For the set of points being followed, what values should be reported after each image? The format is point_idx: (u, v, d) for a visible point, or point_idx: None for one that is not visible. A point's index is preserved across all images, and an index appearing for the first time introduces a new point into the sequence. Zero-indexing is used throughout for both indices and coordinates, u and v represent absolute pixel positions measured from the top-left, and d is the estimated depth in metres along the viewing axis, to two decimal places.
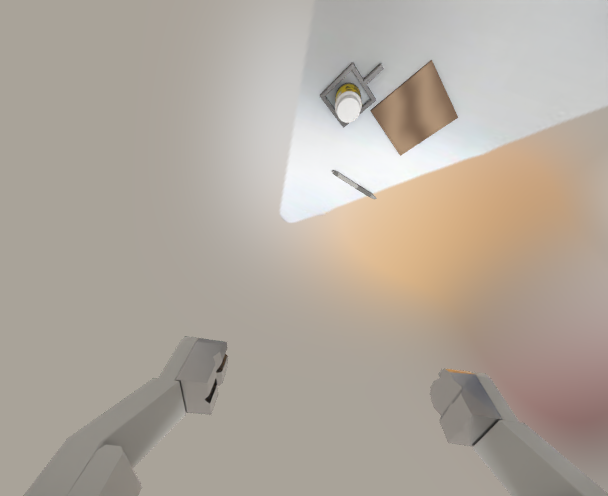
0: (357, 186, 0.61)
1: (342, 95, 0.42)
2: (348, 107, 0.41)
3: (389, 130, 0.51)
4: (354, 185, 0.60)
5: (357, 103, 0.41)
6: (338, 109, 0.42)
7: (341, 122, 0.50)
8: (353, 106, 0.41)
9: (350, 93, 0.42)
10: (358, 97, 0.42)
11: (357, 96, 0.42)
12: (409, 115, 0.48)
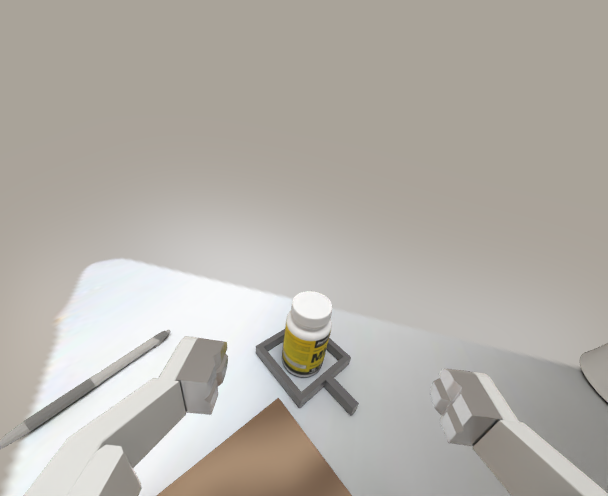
0: (94, 381, 0.22)
1: None
2: (317, 303, 0.24)
3: (228, 452, 0.19)
4: (103, 373, 0.23)
5: (325, 314, 0.23)
6: (313, 292, 0.25)
7: (265, 342, 0.28)
8: (319, 309, 0.23)
9: (330, 321, 0.25)
10: (325, 332, 0.24)
11: (326, 330, 0.24)
12: None
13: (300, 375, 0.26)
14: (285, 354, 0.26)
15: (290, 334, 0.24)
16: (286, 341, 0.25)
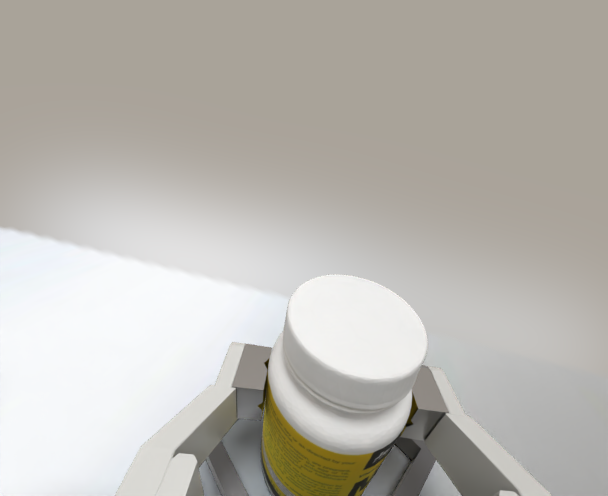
0: None
1: None
2: (372, 313, 0.07)
3: None
4: None
5: (412, 358, 0.06)
6: (351, 278, 0.09)
7: None
8: (386, 336, 0.06)
9: None
10: (403, 414, 0.07)
11: (406, 406, 0.07)
12: None
13: None
14: (267, 461, 0.09)
15: (279, 417, 0.07)
16: (268, 429, 0.08)
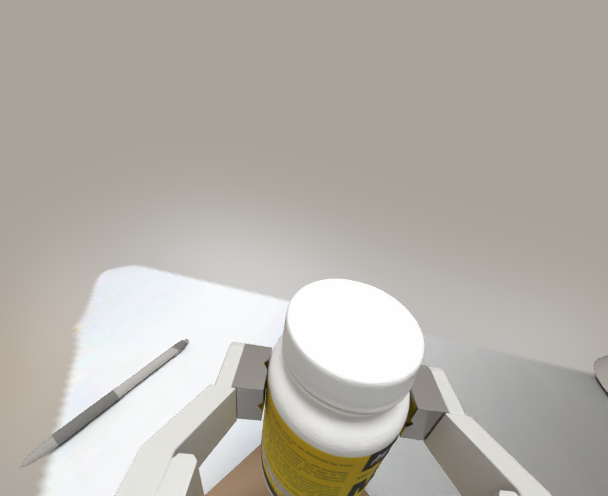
0: (117, 393, 0.23)
1: None
2: (370, 317, 0.07)
3: (254, 465, 0.19)
4: (126, 384, 0.23)
5: (409, 363, 0.06)
6: (350, 282, 0.09)
7: None
8: (384, 341, 0.06)
9: None
10: (400, 417, 0.07)
11: (403, 409, 0.07)
12: None
13: None
14: (267, 463, 0.09)
15: (278, 420, 0.07)
16: (268, 431, 0.08)
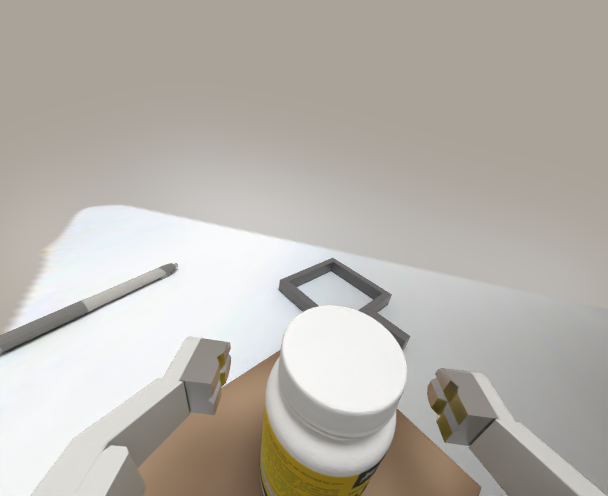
0: (86, 304, 0.18)
1: None
2: (359, 345, 0.08)
3: (256, 380, 0.15)
4: (98, 296, 0.19)
5: (392, 391, 0.07)
6: (341, 309, 0.09)
7: (290, 277, 0.24)
8: (370, 369, 0.07)
9: None
10: (386, 437, 0.07)
11: (389, 430, 0.08)
12: None
13: None
14: (265, 478, 0.09)
15: (275, 442, 0.08)
16: (266, 450, 0.09)
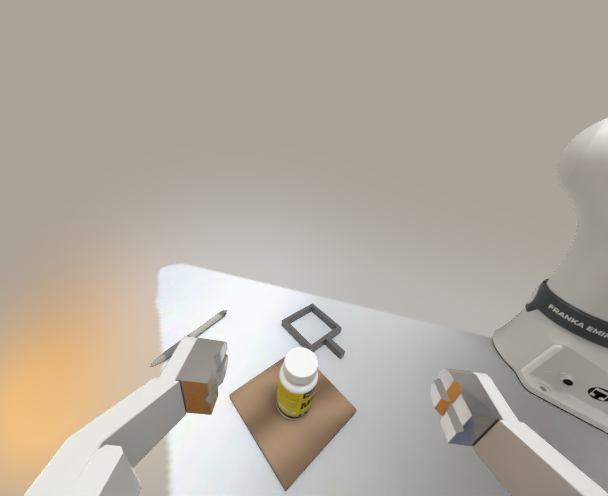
0: (191, 336, 0.39)
1: None
2: (305, 360, 0.28)
3: (272, 371, 0.36)
4: (195, 332, 0.39)
5: (311, 372, 0.27)
6: (302, 348, 0.30)
7: (288, 318, 0.44)
8: (307, 367, 0.28)
9: (316, 373, 0.29)
10: (312, 385, 0.28)
11: (313, 383, 0.28)
12: None
13: (291, 419, 0.30)
14: (278, 401, 0.30)
15: (282, 386, 0.28)
16: (279, 391, 0.29)
